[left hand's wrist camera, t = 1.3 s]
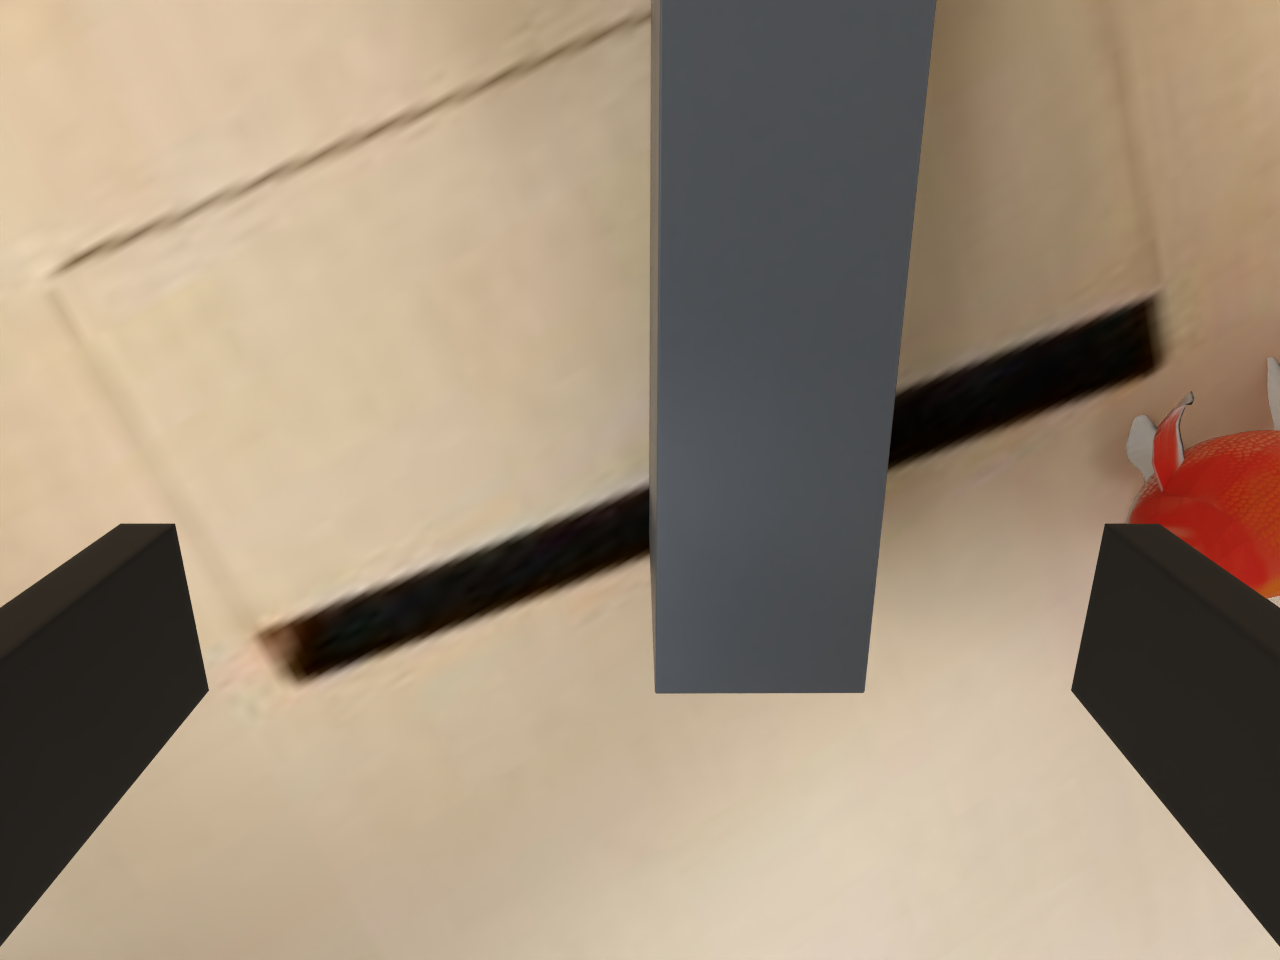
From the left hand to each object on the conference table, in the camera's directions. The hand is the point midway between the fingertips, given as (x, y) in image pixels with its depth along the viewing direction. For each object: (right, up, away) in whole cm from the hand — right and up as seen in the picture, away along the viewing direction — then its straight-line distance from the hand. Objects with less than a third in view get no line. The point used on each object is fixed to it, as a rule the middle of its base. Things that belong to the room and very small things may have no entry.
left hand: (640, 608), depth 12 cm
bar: (+3, +11, +13) cm, 18 cm away
